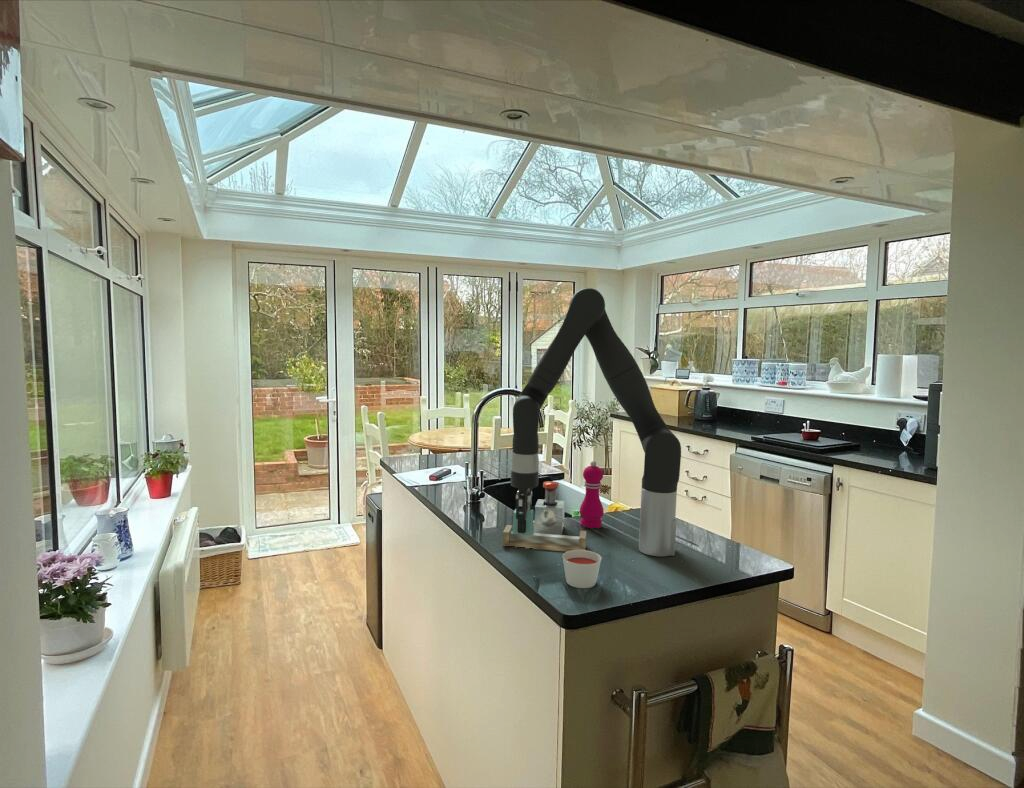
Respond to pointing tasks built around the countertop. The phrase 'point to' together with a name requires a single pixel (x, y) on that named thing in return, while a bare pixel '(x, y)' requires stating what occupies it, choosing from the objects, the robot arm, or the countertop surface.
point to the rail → (542, 546)
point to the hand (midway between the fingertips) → (523, 529)
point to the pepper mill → (592, 497)
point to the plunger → (550, 492)
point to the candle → (581, 568)
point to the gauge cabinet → (549, 517)
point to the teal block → (528, 523)
